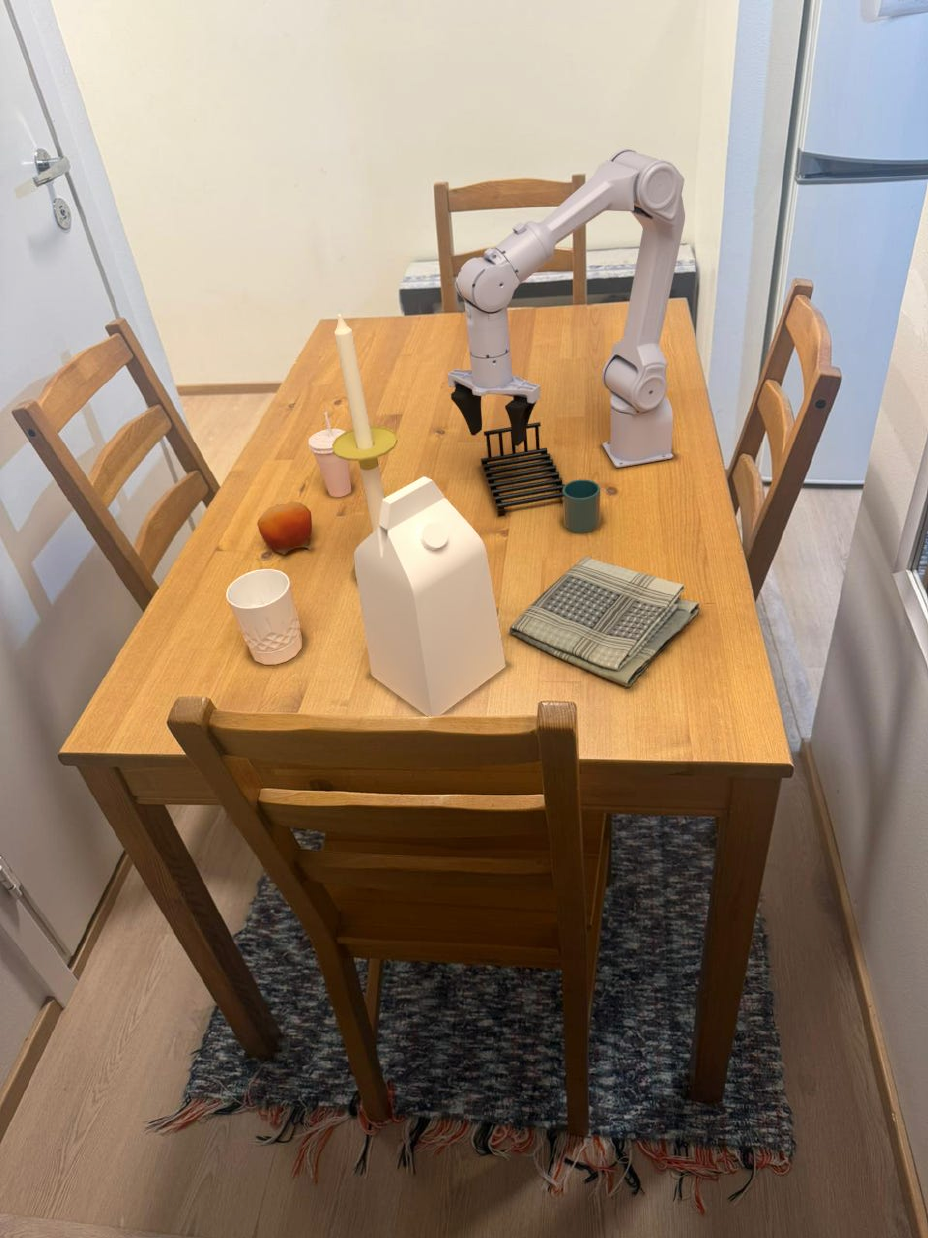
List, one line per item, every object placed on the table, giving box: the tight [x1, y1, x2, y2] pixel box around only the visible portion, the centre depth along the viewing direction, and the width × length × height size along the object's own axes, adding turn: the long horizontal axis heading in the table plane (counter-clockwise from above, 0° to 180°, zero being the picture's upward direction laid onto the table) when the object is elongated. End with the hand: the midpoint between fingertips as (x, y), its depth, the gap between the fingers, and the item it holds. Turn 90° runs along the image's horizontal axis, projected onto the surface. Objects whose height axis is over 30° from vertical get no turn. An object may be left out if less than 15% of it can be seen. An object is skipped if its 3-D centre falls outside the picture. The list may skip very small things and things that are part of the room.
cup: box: [562, 478, 601, 534], centre depth 127 cm, size 5×5×6 cm
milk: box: [353, 475, 507, 717], centre depth 100 cm, size 12×12×26 cm
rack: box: [480, 421, 566, 517], centre depth 137 cm, size 11×15×7 cm
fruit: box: [256, 501, 313, 556], centre depth 131 cm, size 8×8×8 cm
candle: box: [332, 309, 398, 581], centre depth 113 cm, size 10×10×38 cm
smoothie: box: [307, 411, 352, 498], centre depth 139 cm, size 6×6×14 cm
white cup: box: [225, 568, 303, 666], centre depth 111 cm, size 8×8×10 cm
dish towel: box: [509, 556, 700, 688], centre depth 110 cm, size 19×18×3 cm
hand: (497, 437), depth 131 cm, fingers open, 7 cm apart
